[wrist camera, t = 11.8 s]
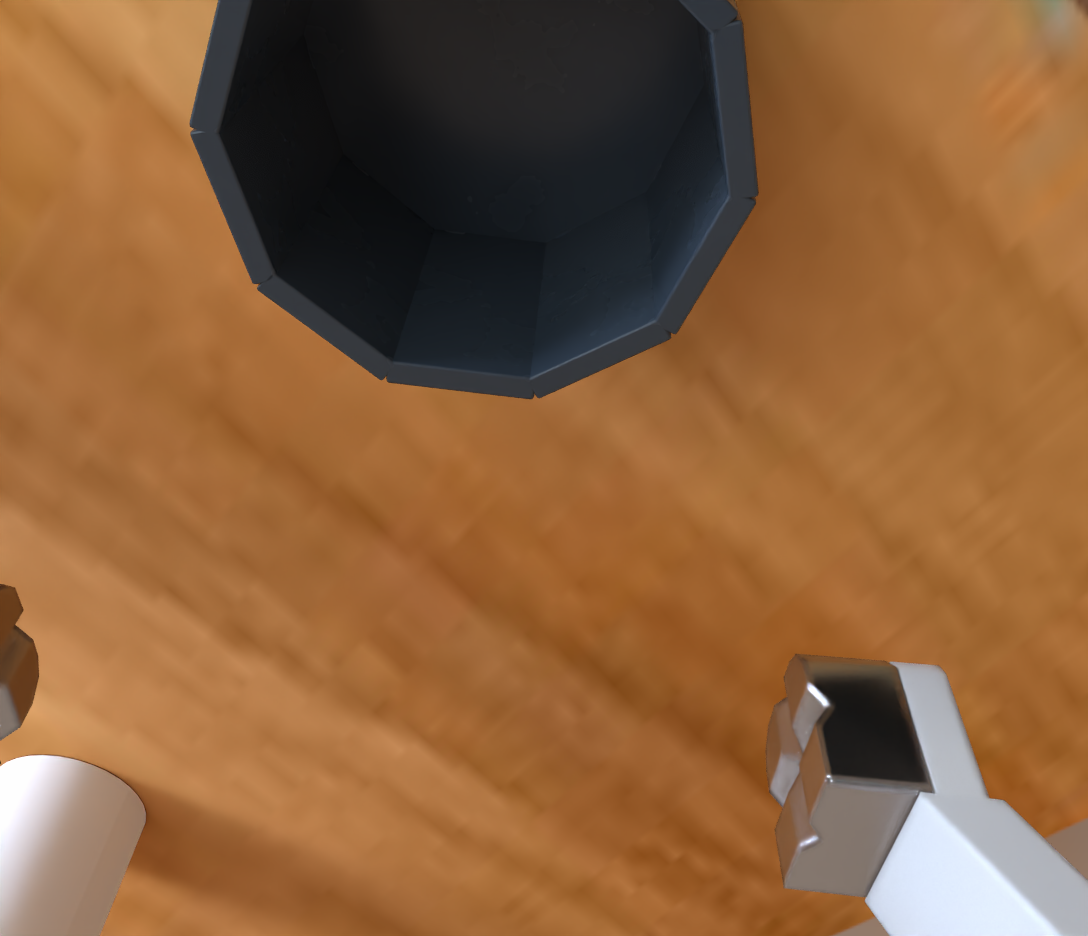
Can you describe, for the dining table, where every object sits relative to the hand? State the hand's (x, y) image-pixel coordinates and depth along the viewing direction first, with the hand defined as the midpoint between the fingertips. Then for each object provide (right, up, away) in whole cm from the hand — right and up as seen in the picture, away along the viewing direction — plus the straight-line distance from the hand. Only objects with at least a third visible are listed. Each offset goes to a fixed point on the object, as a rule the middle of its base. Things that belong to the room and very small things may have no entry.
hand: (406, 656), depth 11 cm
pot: (0, +6, +16) cm, 17 cm away
